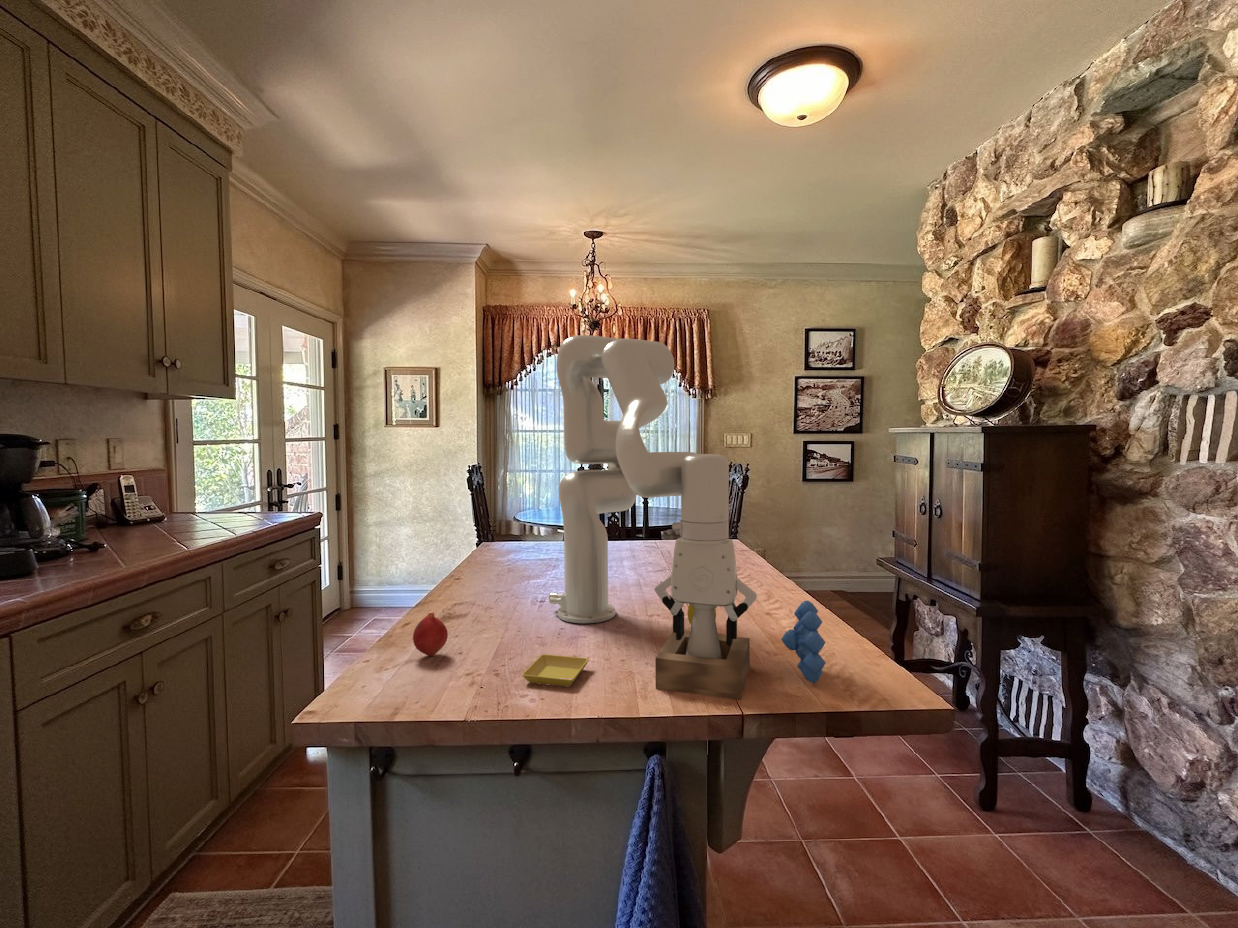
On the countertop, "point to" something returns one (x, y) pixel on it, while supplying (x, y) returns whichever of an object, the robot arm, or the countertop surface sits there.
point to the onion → (430, 635)
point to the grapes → (807, 641)
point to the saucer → (555, 670)
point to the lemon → (691, 612)
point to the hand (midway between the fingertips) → (704, 639)
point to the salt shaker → (704, 633)
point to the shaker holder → (703, 668)
